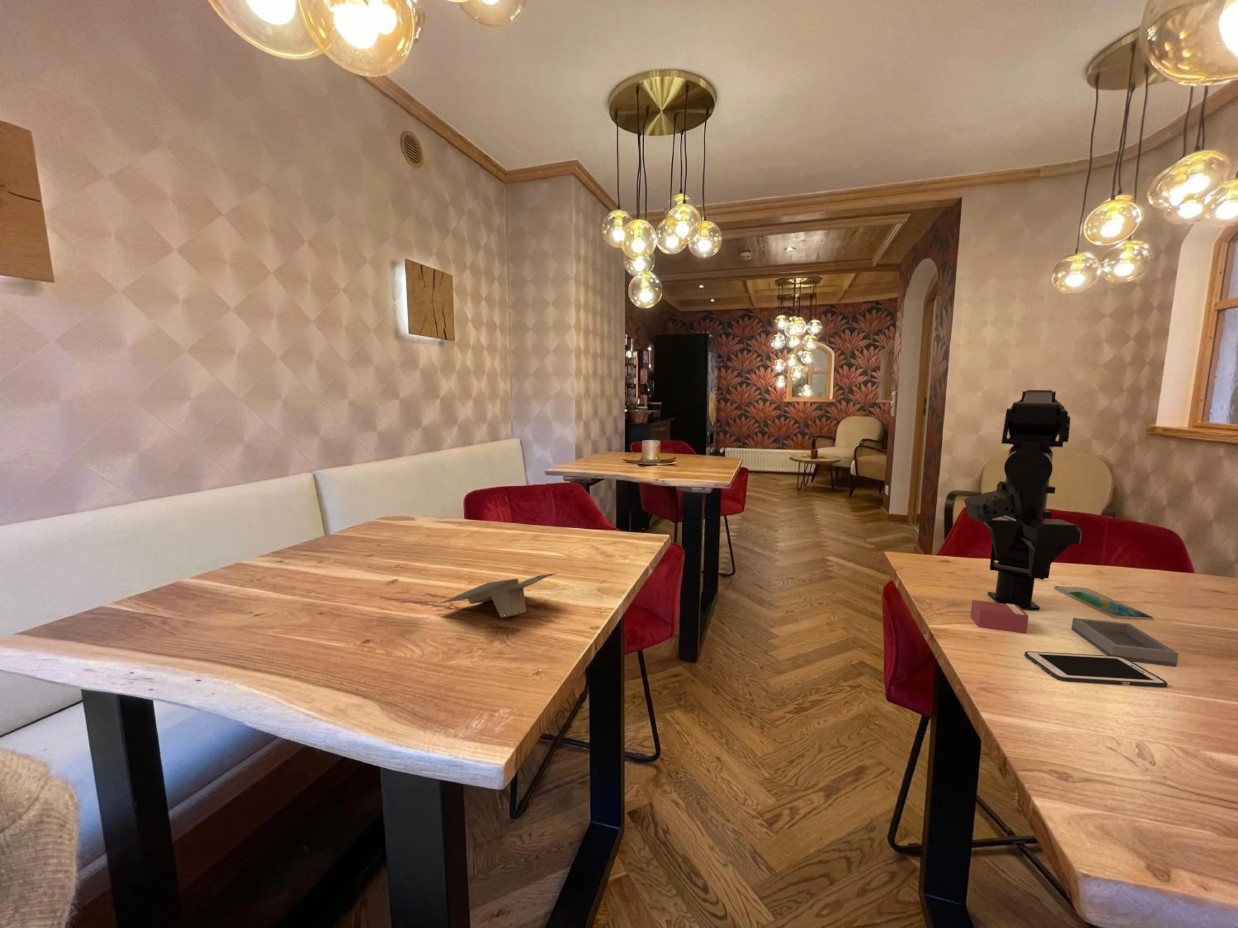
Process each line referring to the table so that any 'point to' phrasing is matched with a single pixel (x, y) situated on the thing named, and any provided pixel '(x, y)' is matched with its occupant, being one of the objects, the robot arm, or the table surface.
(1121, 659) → the cell phone
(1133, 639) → the pocket tray
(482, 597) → the grey winged bracket
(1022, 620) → the card box
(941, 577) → the table surface
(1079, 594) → the smartphone
